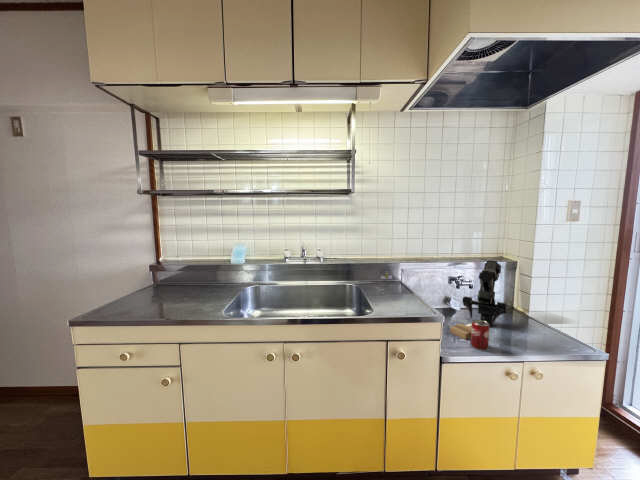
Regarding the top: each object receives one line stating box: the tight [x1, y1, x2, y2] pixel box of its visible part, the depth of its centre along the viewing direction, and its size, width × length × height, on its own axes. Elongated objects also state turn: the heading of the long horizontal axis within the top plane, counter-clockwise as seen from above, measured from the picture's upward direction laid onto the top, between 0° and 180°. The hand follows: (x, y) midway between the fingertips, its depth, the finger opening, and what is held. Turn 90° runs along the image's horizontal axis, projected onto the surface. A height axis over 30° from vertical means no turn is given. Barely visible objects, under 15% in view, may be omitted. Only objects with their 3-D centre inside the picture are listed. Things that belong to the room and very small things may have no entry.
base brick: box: [449, 323, 471, 341], centre depth 141 cm, size 9×9×3 cm
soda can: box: [470, 319, 491, 351], centre depth 128 cm, size 7×7×12 cm
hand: (481, 320), depth 131 cm, fingers open, 9 cm apart
